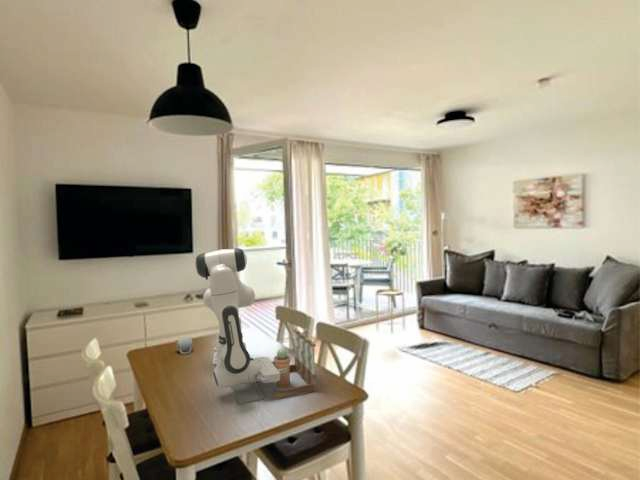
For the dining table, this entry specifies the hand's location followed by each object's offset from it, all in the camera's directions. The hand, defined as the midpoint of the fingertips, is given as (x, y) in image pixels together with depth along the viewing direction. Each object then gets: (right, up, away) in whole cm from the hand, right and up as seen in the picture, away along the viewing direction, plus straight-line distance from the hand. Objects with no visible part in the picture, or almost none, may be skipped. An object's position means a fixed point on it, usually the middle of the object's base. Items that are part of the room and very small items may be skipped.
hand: (284, 366), depth 163 cm
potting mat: (-15, -9, -6) cm, 19 cm away
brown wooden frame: (+1, -8, +1) cm, 8 cm away
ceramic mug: (-59, -7, +44) cm, 74 cm away
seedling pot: (-1, -8, 0) cm, 8 cm away
